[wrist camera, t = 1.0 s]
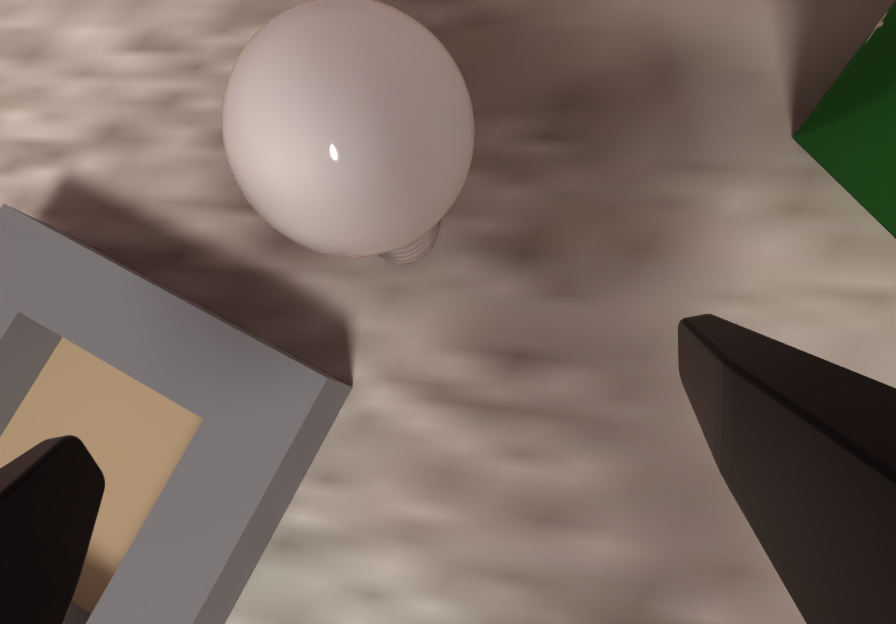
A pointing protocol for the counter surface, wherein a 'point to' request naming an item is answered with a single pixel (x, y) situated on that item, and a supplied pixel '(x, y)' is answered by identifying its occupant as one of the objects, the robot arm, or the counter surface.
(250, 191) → the lightbulb
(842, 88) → the milk carton
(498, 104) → the counter surface
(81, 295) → the holder
